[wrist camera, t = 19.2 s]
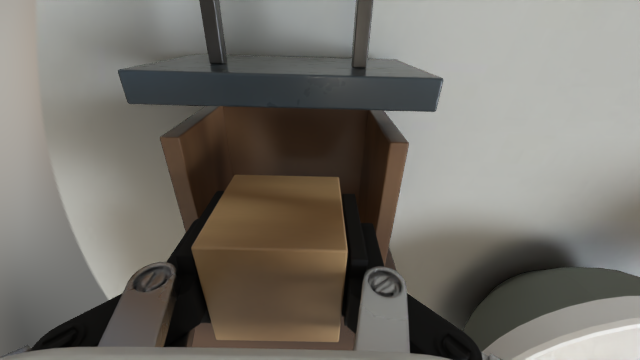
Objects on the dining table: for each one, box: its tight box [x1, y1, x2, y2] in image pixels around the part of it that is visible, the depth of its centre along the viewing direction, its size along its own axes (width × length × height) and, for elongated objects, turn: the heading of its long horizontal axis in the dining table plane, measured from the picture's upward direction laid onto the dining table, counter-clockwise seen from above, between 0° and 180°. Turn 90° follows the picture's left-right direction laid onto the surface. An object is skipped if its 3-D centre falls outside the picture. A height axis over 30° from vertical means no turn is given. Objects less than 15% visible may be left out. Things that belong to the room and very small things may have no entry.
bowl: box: [463, 267, 640, 360], centre depth 23 cm, size 19×19×8 cm
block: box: [191, 175, 348, 342], centre depth 10 cm, size 4×4×4 cm
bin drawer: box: [118, 0, 443, 266], centre depth 14 cm, size 19×11×7 cm, turn 179°
